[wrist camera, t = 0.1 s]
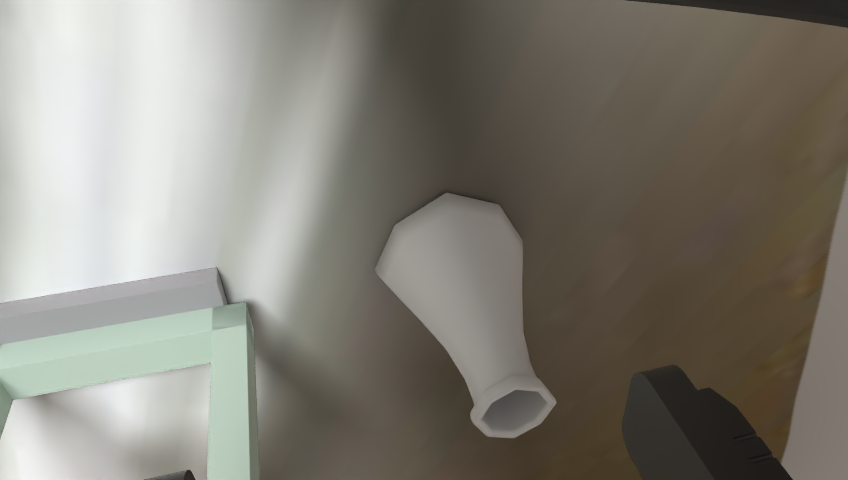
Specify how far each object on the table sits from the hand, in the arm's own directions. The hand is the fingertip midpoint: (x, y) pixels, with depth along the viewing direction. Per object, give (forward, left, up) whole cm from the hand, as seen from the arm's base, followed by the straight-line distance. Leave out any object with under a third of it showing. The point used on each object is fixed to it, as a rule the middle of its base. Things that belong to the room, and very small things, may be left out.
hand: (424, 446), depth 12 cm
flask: (+11, +5, -18) cm, 21 cm away
